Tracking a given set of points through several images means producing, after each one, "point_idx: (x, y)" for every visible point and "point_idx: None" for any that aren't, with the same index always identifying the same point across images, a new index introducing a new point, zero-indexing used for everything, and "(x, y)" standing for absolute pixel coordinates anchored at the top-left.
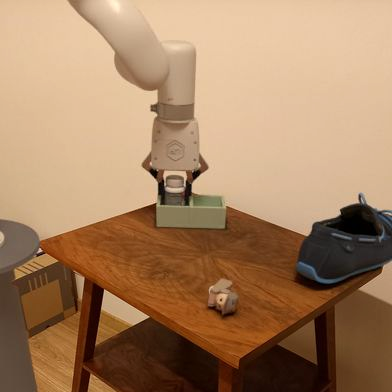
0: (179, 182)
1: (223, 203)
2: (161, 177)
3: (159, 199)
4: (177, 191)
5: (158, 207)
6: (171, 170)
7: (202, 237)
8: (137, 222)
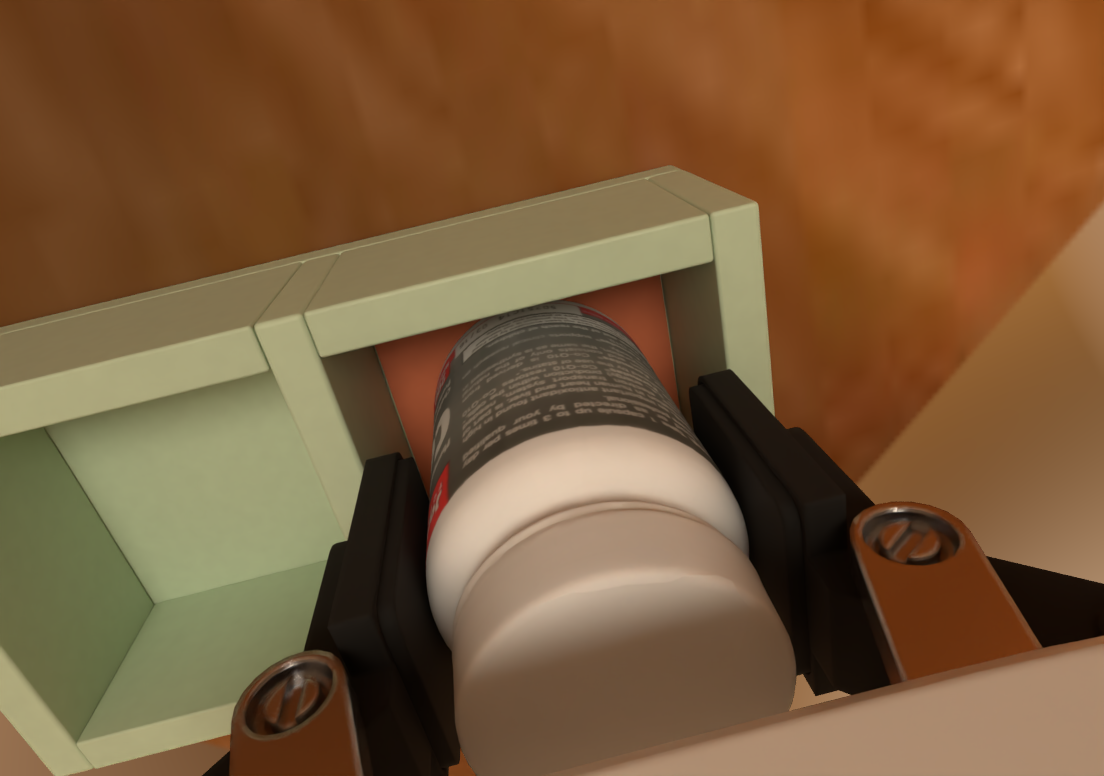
0: (503, 595)
1: None
2: (894, 581)
3: None
4: (514, 458)
5: (724, 208)
6: (751, 724)
7: (106, 28)
8: (866, 220)
